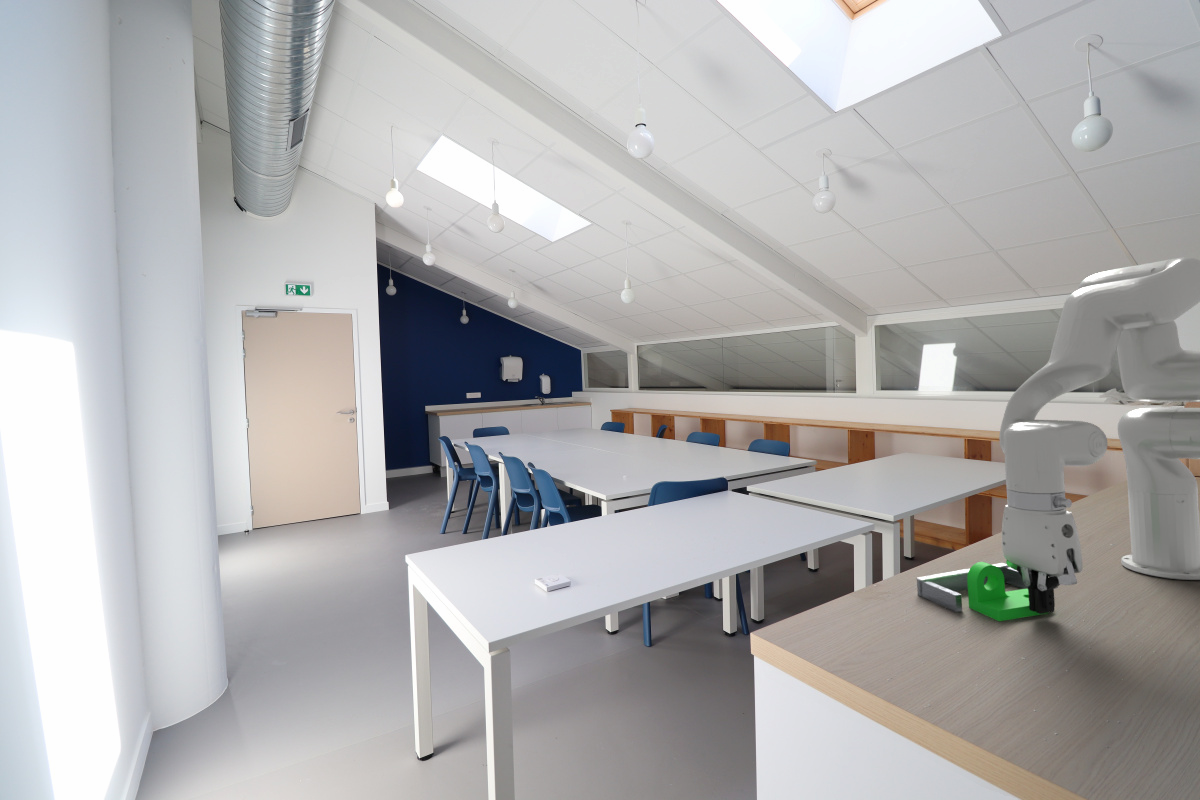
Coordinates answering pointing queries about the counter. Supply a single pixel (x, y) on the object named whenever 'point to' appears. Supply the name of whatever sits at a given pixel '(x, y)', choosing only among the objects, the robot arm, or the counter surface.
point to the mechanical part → (995, 594)
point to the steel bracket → (958, 586)
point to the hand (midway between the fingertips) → (1042, 610)
